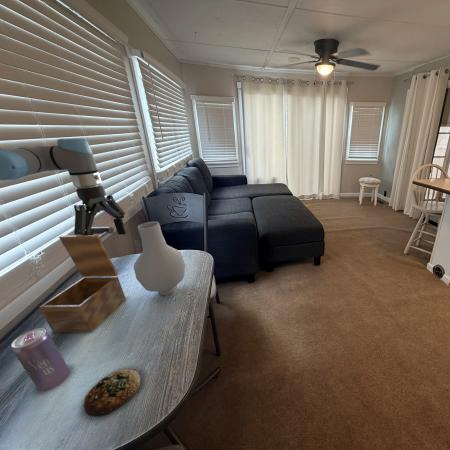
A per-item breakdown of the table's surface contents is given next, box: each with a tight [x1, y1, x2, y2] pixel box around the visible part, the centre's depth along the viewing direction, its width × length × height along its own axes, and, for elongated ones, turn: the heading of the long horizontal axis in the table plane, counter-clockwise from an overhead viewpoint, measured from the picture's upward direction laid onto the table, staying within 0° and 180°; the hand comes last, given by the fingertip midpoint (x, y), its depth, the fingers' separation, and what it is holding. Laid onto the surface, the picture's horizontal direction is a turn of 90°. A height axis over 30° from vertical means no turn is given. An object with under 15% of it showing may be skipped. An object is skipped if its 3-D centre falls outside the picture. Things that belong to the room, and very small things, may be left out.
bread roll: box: [83, 369, 141, 418], centre depth 57 cm, size 11×11×5 cm
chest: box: [38, 276, 127, 333], centre depth 80 cm, size 16×13×11 cm
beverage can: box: [10, 327, 71, 392], centre depth 58 cm, size 6×6×15 cm
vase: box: [133, 221, 186, 296], centre depth 90 cm, size 17×16×28 cm
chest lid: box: [58, 226, 119, 278], centre depth 85 cm, size 17×13×10 cm
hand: (109, 241), depth 90 cm, fingers open, 13 cm apart
